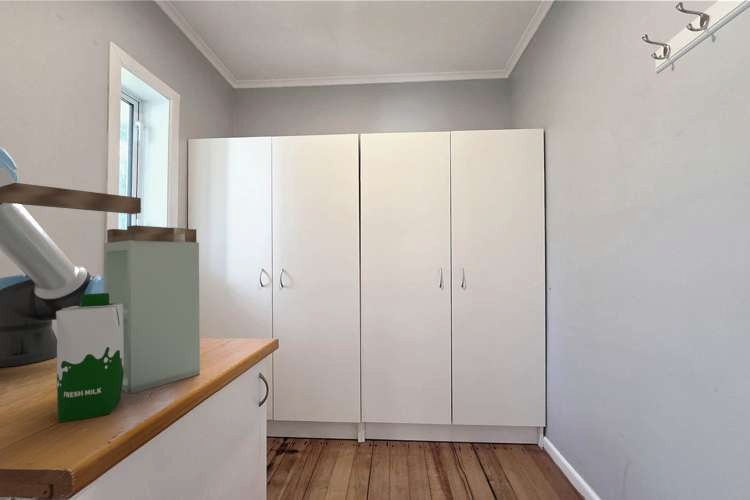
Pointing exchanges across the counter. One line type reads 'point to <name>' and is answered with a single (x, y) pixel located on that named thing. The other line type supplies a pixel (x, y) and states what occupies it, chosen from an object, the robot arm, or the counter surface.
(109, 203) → the plain slat
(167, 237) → the banded slat
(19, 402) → the counter surface
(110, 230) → the banded slat
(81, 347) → the milk carton
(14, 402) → the counter surface
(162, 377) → the shelf unit
